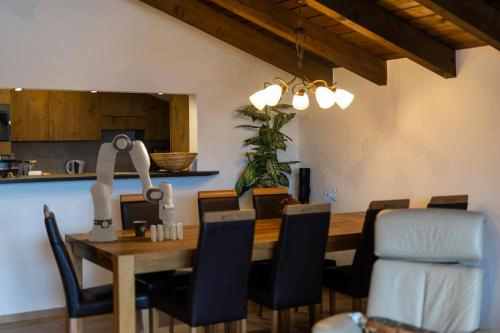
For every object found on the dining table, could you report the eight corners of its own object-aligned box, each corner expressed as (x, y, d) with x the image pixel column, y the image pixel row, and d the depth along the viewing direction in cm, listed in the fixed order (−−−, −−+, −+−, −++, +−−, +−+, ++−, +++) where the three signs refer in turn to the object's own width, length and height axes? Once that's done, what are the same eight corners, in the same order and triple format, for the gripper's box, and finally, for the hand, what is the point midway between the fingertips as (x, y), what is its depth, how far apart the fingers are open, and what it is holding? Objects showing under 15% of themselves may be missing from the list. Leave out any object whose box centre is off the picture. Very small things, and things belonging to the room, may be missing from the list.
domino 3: (163, 237, 452) (163, 222, 452) (166, 237, 453) (166, 222, 453) (166, 238, 448) (166, 223, 447) (169, 238, 449) (168, 223, 448)
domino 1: (151, 240, 438) (150, 225, 438) (154, 240, 439) (153, 225, 439) (153, 241, 434) (153, 226, 433) (156, 241, 434) (156, 225, 434)
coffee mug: (134, 237, 453) (133, 222, 453) (133, 235, 462) (133, 221, 462) (151, 236, 456) (151, 222, 455) (150, 235, 464) (150, 220, 464)
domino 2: (157, 240, 440) (157, 224, 440) (160, 239, 441) (160, 224, 441) (160, 241, 435) (159, 225, 435) (163, 240, 436) (162, 225, 436)
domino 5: (177, 238, 446) (177, 223, 445) (180, 238, 447) (180, 223, 446) (179, 239, 441) (179, 224, 441) (182, 239, 442) (182, 223, 442)
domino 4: (170, 239, 444) (170, 223, 443) (173, 238, 445) (173, 223, 444) (173, 240, 439) (173, 224, 439) (176, 239, 440) (176, 224, 440)
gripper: (156, 205, 458) (156, 225, 458) (166, 207, 439) (166, 229, 440) (165, 204, 460) (165, 225, 461) (175, 207, 442) (175, 228, 442)
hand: (166, 227), depth 450 cm, fingers closed on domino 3, 5 cm apart
